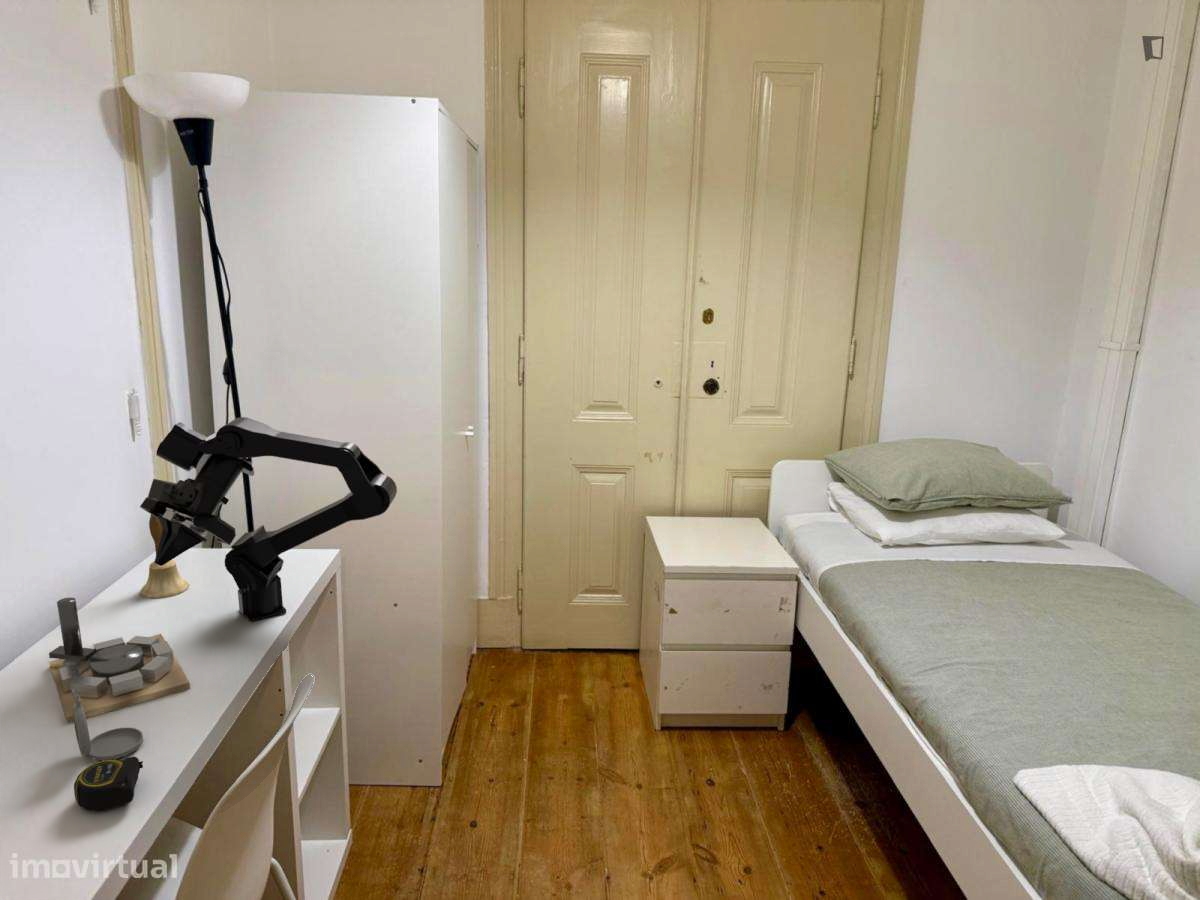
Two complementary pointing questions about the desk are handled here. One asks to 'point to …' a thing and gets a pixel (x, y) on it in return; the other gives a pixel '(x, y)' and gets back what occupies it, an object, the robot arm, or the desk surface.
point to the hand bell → (162, 571)
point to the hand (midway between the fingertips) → (157, 564)
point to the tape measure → (107, 784)
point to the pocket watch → (103, 737)
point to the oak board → (108, 702)
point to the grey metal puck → (116, 661)
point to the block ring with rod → (81, 656)
